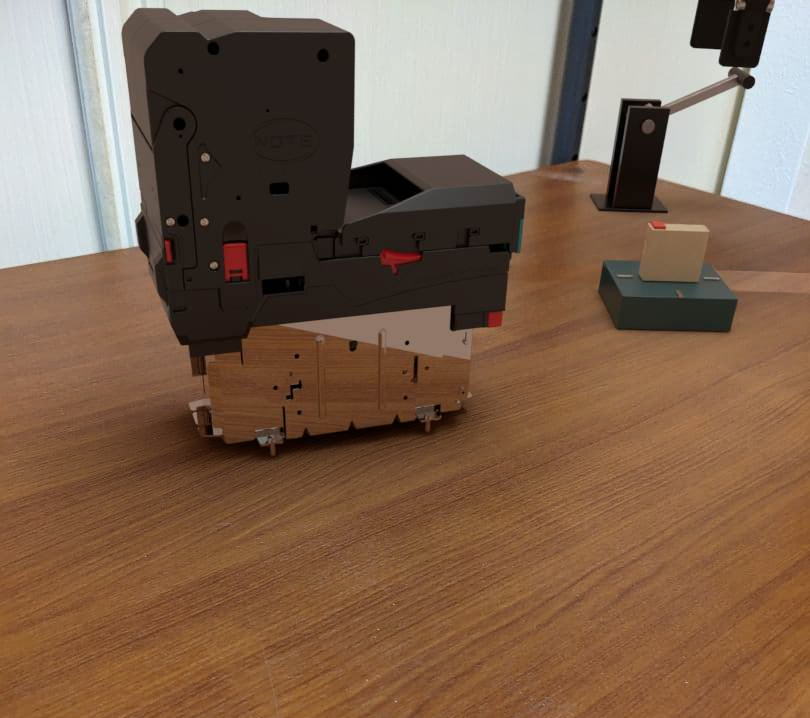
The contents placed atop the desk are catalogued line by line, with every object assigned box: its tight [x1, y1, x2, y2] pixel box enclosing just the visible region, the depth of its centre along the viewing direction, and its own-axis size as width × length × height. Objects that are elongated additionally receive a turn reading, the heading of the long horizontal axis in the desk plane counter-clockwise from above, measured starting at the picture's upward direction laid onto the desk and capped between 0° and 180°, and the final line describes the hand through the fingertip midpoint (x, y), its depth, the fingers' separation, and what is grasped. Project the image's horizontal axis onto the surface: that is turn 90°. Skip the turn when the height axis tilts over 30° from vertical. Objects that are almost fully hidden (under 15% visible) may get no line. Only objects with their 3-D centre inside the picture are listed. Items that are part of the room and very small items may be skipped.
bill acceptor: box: [120, 7, 527, 457], centre depth 59 cm, size 10×23×25 cm, turn 110°
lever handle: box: [626, 67, 756, 118], centre depth 101 cm, size 13×6×2 cm, turn 90°
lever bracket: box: [589, 97, 670, 214], centre depth 105 cm, size 8×6×12 cm
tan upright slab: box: [639, 220, 711, 282], centre depth 81 cm, size 5×2×5 cm, turn 91°
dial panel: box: [598, 259, 739, 333], centre depth 83 cm, size 10×9×3 cm
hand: (721, 57), depth 80 cm, fingers open, 9 cm apart
